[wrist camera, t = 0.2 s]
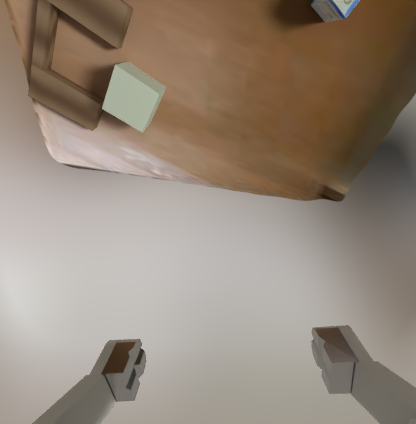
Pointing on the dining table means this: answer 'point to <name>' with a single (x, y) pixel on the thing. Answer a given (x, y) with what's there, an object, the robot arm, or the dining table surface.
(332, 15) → the medicine box
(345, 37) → the dining table surface
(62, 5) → the dock block
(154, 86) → the sage block
